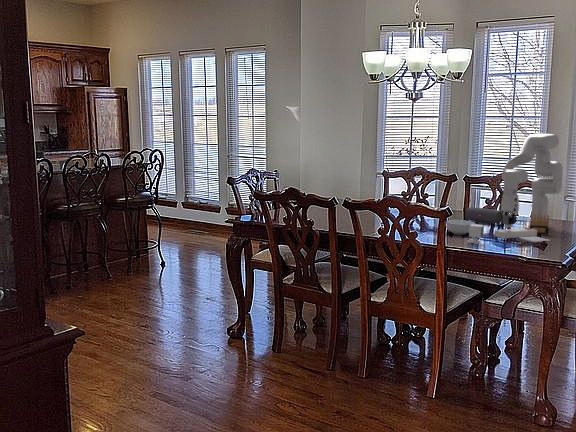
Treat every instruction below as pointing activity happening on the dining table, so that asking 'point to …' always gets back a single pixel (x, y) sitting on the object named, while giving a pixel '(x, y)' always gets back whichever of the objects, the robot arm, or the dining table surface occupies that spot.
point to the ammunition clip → (540, 224)
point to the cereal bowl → (459, 226)
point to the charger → (507, 221)
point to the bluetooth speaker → (483, 215)
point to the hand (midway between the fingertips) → (508, 222)
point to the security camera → (475, 233)
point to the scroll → (501, 201)
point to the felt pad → (534, 239)
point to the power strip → (515, 233)
